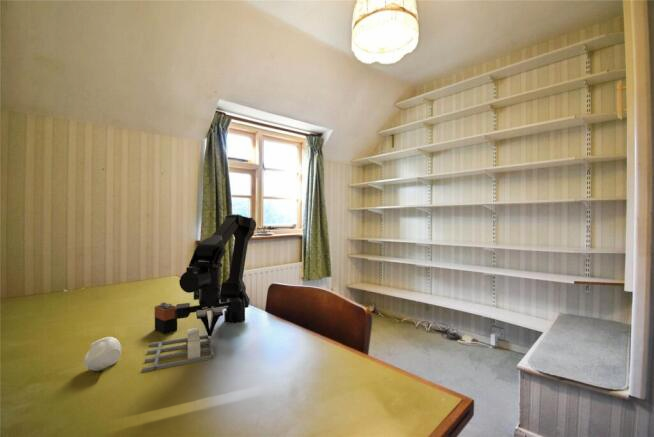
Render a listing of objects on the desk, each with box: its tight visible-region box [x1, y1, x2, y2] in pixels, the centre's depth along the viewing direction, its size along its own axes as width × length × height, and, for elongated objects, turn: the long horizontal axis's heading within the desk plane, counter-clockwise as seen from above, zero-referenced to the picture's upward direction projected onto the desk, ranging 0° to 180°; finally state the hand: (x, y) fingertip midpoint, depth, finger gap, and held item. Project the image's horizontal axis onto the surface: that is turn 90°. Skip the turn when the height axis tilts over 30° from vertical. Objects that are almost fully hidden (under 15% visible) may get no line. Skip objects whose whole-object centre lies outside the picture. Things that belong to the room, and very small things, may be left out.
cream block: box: [187, 340, 201, 359], centre depth 79 cm, size 3×4×4 cm
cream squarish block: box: [187, 327, 200, 336], centre depth 88 cm, size 3×4×4 cm
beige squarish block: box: [187, 333, 201, 343], centre depth 84 cm, size 3×4×4 cm
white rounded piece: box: [83, 336, 122, 372], centre depth 76 cm, size 8×8×8 cm
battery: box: [154, 302, 178, 335], centre depth 97 cm, size 4×7×10 cm, turn 55°
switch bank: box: [141, 333, 215, 373], centre depth 82 cm, size 18×16×2 cm
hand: (209, 335), depth 90 cm, fingers closed
